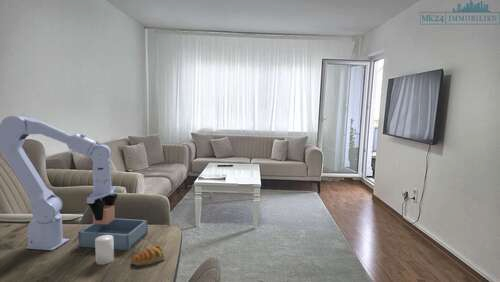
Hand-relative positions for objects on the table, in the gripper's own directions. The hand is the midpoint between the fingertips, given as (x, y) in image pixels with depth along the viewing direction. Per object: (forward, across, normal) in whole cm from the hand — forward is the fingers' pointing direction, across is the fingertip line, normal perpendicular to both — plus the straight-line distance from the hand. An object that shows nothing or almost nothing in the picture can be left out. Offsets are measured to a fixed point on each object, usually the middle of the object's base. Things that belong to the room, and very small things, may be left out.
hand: (103, 217), depth 107 cm
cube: (+2, 0, 0) cm, 2 cm away
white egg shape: (+8, -14, -9) cm, 18 cm away
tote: (+8, 0, -4) cm, 9 cm away
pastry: (+8, -12, -22) cm, 26 cm away
